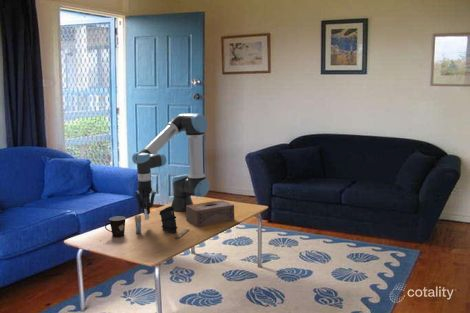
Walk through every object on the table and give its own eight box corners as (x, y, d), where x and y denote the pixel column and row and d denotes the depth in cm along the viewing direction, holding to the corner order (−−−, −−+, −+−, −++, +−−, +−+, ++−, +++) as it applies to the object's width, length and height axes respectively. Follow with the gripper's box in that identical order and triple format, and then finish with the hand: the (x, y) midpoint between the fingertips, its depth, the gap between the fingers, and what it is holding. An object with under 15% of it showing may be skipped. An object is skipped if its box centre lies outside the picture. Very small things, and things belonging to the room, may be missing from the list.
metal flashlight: (137, 231, 273) (136, 215, 272) (142, 232, 272) (141, 215, 271) (134, 233, 270) (133, 216, 269) (139, 234, 269) (139, 216, 268)
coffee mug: (125, 232, 272) (124, 215, 271) (127, 237, 264) (126, 219, 263) (104, 235, 268) (103, 217, 267) (105, 239, 260) (104, 221, 259)
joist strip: (185, 229, 276) (185, 229, 276) (189, 230, 275) (189, 229, 275) (174, 238, 261) (174, 237, 261) (178, 238, 260) (178, 238, 260)
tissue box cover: (196, 227, 282) (196, 210, 280) (186, 221, 294) (186, 205, 293) (234, 220, 295) (234, 204, 293) (223, 215, 307) (222, 200, 305)
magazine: (174, 232, 266) (167, 206, 269) (163, 237, 276) (157, 212, 279) (180, 231, 268) (173, 205, 271) (169, 235, 278) (162, 211, 281)
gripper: (131, 181, 275) (134, 220, 279) (152, 181, 271) (154, 221, 275) (137, 178, 282) (140, 216, 286) (157, 179, 278) (159, 217, 282)
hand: (147, 219), depth 280 cm, fingers closed
